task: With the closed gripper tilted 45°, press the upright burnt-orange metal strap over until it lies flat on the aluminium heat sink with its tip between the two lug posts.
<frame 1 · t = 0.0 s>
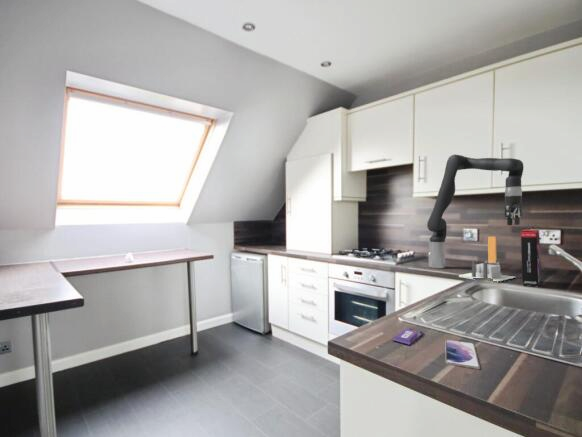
hand: (513, 225, 169), 29 cm above the worktop, tool pointing down, fingers open, 8 cm apart
smartphone: (461, 356, 78), on the worktop
heatsink board: (486, 277, 171), on the worktop
retention strap: (492, 250, 174), point 15 cm above the worktop, hinge at 0.0°
snack package: (408, 340, 89), on the worktop
graphics card box: (531, 284, 155), on the worktop
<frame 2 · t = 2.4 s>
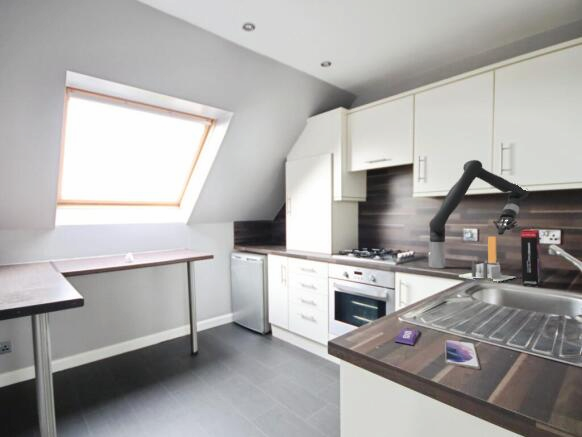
hand: (500, 233, 179), 24 cm above the worktop, tool tilted 45°, fingers closed
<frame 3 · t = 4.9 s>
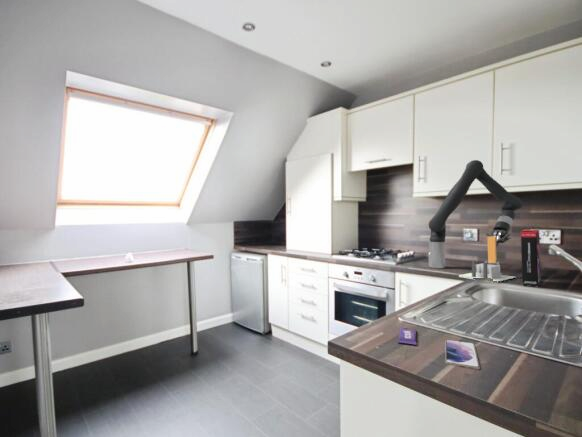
hand: (493, 247, 175), 17 cm above the worktop, tool tilted 45°, fingers closed
retention strap: (492, 250, 174), point 15 cm above the worktop, hinge at 2.2°, touching gripper
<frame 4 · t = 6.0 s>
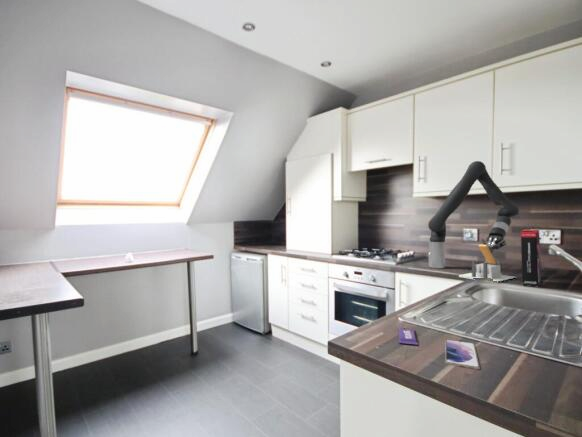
hand: (488, 253, 172), 14 cm above the worktop, tool tilted 45°, fingers closed
retention strap: (487, 254, 172), point 13 cm above the worktop, hinge at 44.8°, touching gripper
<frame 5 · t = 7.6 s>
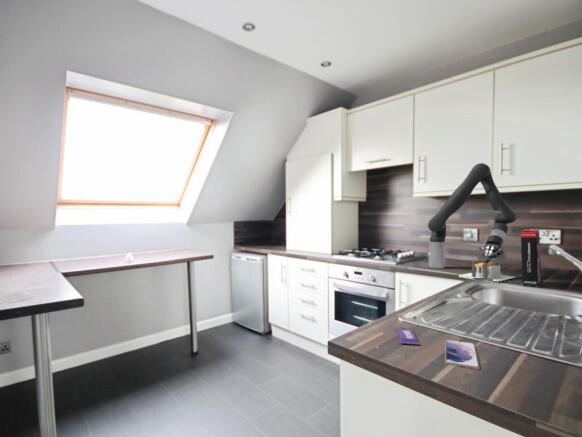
hand: (485, 262, 170), 9 cm above the worktop, tool tilted 45°, fingers closed
retention strap: (485, 264, 171), point 8 cm above the worktop, hinge at 90.0°, touching gripper, heatsink board
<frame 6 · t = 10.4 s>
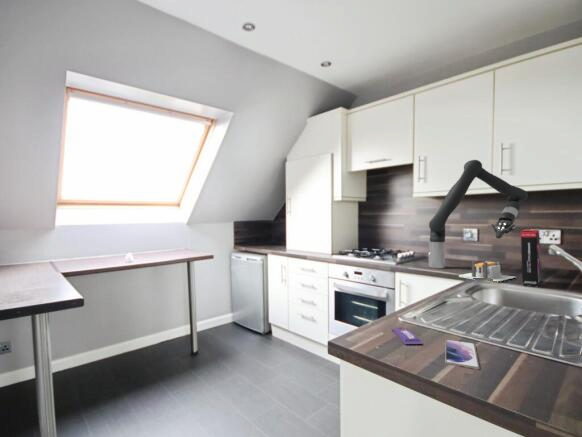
hand: (498, 237, 177), 22 cm above the worktop, tool tilted 45°, fingers closed
retention strap: (485, 264, 171), point 8 cm above the worktop, hinge at 90.0°, touching heatsink board
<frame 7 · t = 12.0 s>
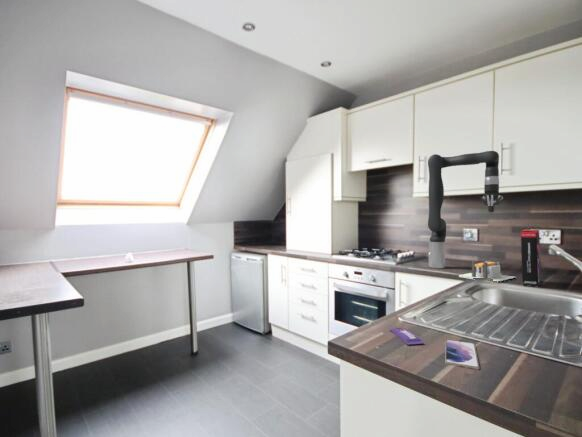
hand: (491, 212, 189), 37 cm above the worktop, tool pointing down, fingers closed
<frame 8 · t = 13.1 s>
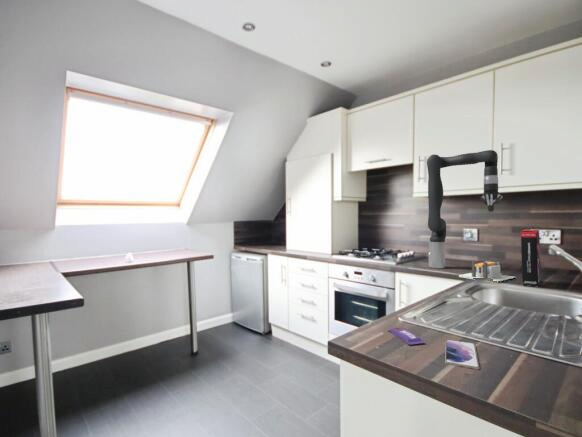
hand: (491, 211, 189), 37 cm above the worktop, tool pointing down, fingers closed
at the end: retention strap at +90° (first picture: +0°); graphics card box moved 0.3 cm from its start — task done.
